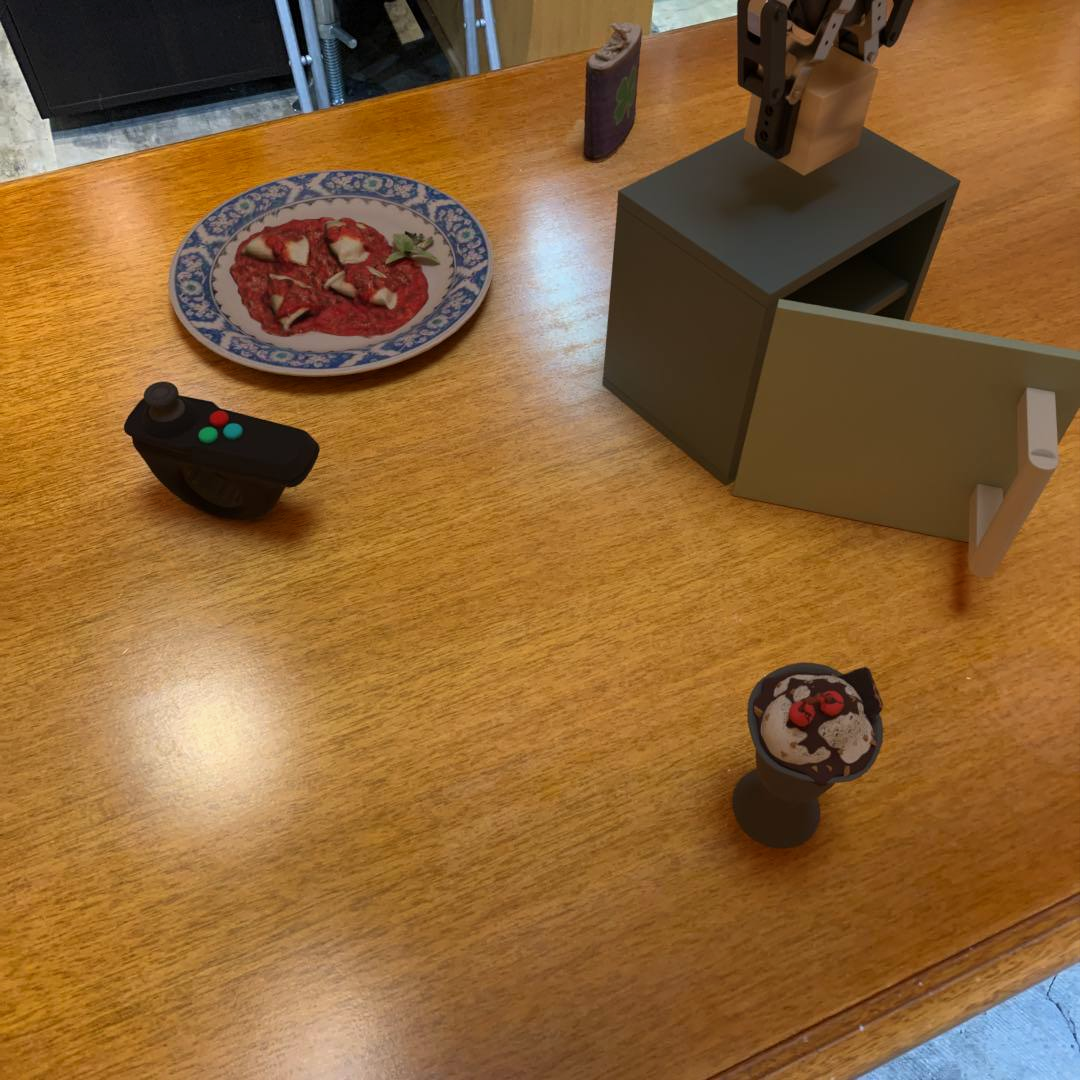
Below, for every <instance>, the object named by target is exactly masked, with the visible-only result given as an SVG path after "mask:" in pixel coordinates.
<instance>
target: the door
mask: <svg viewBox="0 0 1080 1080" xmlns="http://www.w3.org/2000/svg"><path fill="white" fill-rule="evenodd" d="M1079 411H1080V350H1077V349H1072V348H1066V347H1060V346H1053V345H1048V344H1044V343H1043V344H1042V343H1037V342H1031V341H1026V340H1021V339H1014V338H1008V337H1003V336H996V335H991V334H985V333H980V332H973V331H967V330H961V329H956V328H950V327H944V326H939V325H932V324H927V323H922V322H921V323H920V322H915V321H911V320H910V321H904V320H899V319H893V318H887V317H881V316H876V315H870V314H864V313H858V312H852V311H847V310H841V309H835V308H829V307H824V306H818V305H812V304H806V303H800V302H795V301H789V300H783V299H779V300H778V304H777V308H776V312H775V316H774V321H773V325H772V329H771V333H770V337H769V342H768V346H767V350H766V354H765V358H764V362H763V367H762V371H761V375H760V379H759V383H758V388H757V392H756V396H755V400H754V404H753V408H752V413H751V417H750V421H749V425H748V429H747V434H746V438H745V442H744V446H743V450H742V454H741V459H740V463H739V467H738V471H737V475H736V480H735V481H734V484H733V488H732V496H733V497H739V498H743V499H749V500H754V501H759V502H764V503H769V504H772V505H778V506H782V507H787V508H793V509H799V510H804V511H808V512H813V513H818V514H823V515H828V516H833V517H839V518H843V519H849V520H853V521H858V522H863V523H868V524H869V523H870V524H873V525H879V526H883V527H888V528H894V529H899V530H904V531H909V532H912V533H913V532H914V533H919V534H924V535H928V536H933V537H939V538H942V539H943V538H944V539H948V540H954V541H958V542H963V543H964V542H965V543H968V570H969V571H970V572H971V574H973V575H974V576H976V577H978V578H980V579H989V578H991V577H993V576H994V575H995V574H996V572H997V570H998V568H999V567H1000V565H1001V563H1002V562H1003V560H1004V559H1005V557H1006V555H1007V553H1008V551H1010V548H1011V546H1012V544H1013V543H1014V541H1015V540H1016V538H1017V537H1018V534H1019V533H1020V531H1021V529H1022V528H1023V526H1024V524H1025V522H1027V519H1028V517H1029V516H1030V514H1031V512H1032V511H1033V509H1034V507H1035V506H1036V504H1037V502H1038V501H1039V499H1040V497H1041V496H1042V494H1043V492H1044V490H1045V488H1046V487H1047V485H1048V484H1049V482H1050V480H1051V479H1052V477H1053V475H1054V473H1055V471H1056V470H1057V468H1058V467H1059V464H1060V462H1059V460H1060V459H1059V445H1060V443H1061V442H1062V440H1063V438H1064V437H1065V434H1066V432H1067V431H1068V429H1069V428H1070V426H1071V424H1072V422H1073V421H1074V418H1075V417H1076V416H1077V413H1078V412H1079Z"/></svg>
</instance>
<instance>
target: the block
mask: <svg viewBox="0 0 1080 1080" xmlns="http://www.w3.org/2000/svg"><path fill="white" fill-rule="evenodd" d="M814 37H815V36H814V35H812V36H811V37H808V38H806V39H805V40H806V41H808V42H810V43H811V42H812V41H813V39H814ZM795 64H796V57H795V56H794V55H792V54H790V53H788V54H787V57H786V66H785V75H787V76H789V77H790V76H791V74H792V71H793V69H794V67H795ZM759 69H762V66H761V65H760V64H759ZM878 74H879V69H878V68H877V67H875V66H873V65H869V64H867V63H865V62H863V61H861V60H860V59H858V58H856V57H854V56H852V55H850V54H848V53H846V52H844V51H842V50H840V49H838V48H837V47H835V46H833V44H832V46H831V49H830V51H829V53H828V56H827V58H826V60H825V61H824V62H823V63H821V64H817V65H815V67H814V68H813V71H812V73H811V75H810V78H809V80H808V82H807V85H806V87H805V89H804V92H803V94H802V96H801V98H800V100H801V105H800V110H799V114H798V119H797V123H796V128H795V132H794V137H793V142H792V146H791V151H790V153H789V154H788V155H787V156H785V157H783V158H781V159H777V160H778V161H780V162H782V163H783V164H785V165H787V166H788V167H790V168H792V169H793V170H795V171H797V172H798V173H800V174H802V175H806V174H808V173H810V172H812V171H814V170H816V169H817V168H819V167H821V166H823V165H825V164H827V163H829V162H830V161H832V160H834V159H836V158H838V157H840V156H842V155H843V154H845V153H847V152H849V151H851V150H853V149H854V148H856V147H858V144H859V140H860V137H861V133H862V129H863V126H864V125H865V121H866V118H867V115H868V111H869V107H870V103H871V100H872V96H873V92H874V89H875V85H876V82H877V78H878ZM750 95H751V96H750V100H749V107H748V111H747V117H746V123H745V127H746V128H745V127H744V128H745V133H744V140H745V141H747V142H749V143H750V144H752V145H754V146H755V147H757V145H756V143H755V138H754V135H755V130H756V128H757V127H756V125H757V122H758V114H759V109H760V104H761V98H759V97H758V96H756V95H754V94H752V93H751V94H750ZM864 127H865V126H864ZM757 148H758V147H757Z"/></svg>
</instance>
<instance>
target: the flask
mask: <svg viewBox="0 0 1080 1080" xmlns="http://www.w3.org/2000/svg"><path fill="white" fill-rule="evenodd" d="M608 26H609V27H611V28H613V30H614V31H613V32H612V34H611V35H610V37H609V39H608V41H607V43H605V45H604V46H603V47H602V48H600V50H596V51H595V53H594V54H591V55H590V56H589V58H587V61H586V66H585V85H584V86H585V88H584V89H585V92H584V93H585V94H584V98H585V99H584V102H585V103H584V104H585V105H584V120H583V121H584V128H583V150H582V156H583V158H584V160H586V161H589V162H592V163H600V162H602V161H606V160H607V159H609V158H610V157H611V156H613V155H614V153H616V152H617V151H618V149H620V148H621V147H622V145H623V143H625V141H626V139H627V138H628V136H629V133H630V132H631V130H632V129H633V126H634V124H635V120H636V111H637V110H636V105H637V97H638V81H639V69H640V63H641V62H640V60H641V59H640V57H641V56H640V55H641V48H642V36H643V29H642V27H641V25H638V24H637V23H632V22H621V23H620V24H618V22H616V21H615V22H613V23H609V25H608Z"/></svg>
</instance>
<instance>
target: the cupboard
mask: <svg viewBox="0 0 1080 1080" xmlns="http://www.w3.org/2000/svg"><path fill="white" fill-rule="evenodd" d="M745 128H746V126H745V127H743V128H741V129H738V130H737V131H734V132H733V133H731V134H728V135H727V136H725V137H722V138H721V139H718V140H716V141H715V142H713V143H711V144H708V145H707V146H704V147H703V148H700V149H699V150H697V151H694V152H692V153H691V154H689V155H687V156H685V157H683V158H680V159H678V160H677V161H675V162H673V163H671V164H668V165H667V166H665V167H663V168H661V169H659V170H656V171H655V172H652V173H651V174H649V175H646V176H644V177H642V178H640V179H639V180H637V181H634V182H632V183H630V184H629V185H627V186H624V187H622V188H620V189H618V191H617V200H616V201H617V202H616V203H617V205H616V206H617V207H616V214H615V215H616V217H615V226H614V227H615V228H614V239H613V252H612V263H611V264H612V265H611V276H610V278H611V279H610V287H609V288H610V289H609V301H608V313H607V323H606V335H605V336H606V337H605V348H604V362H603V373H602V376H603V377H602V381H601V382H602V383H601V385H602V387H604V389H606V390H607V391H608V392H610V393H611V394H612V395H613V396H614V397H616V399H618V400H619V401H621V402H622V403H623V404H624V405H626V406H627V407H628V408H629V409H630V410H632V411H633V413H635V414H637V416H639V417H640V418H641V419H643V420H644V421H646V423H647V424H648V425H650V426H651V427H653V428H654V429H655V430H656V431H657V432H658V433H660V434H661V435H662V436H663V437H664V438H666V439H667V440H668V441H669V442H670V443H672V444H673V445H674V446H676V447H677V448H678V449H679V450H681V451H682V452H683V453H684V454H685V455H686V456H688V457H689V458H690V459H691V460H692V461H694V462H695V463H696V464H698V465H699V466H700V467H701V468H703V470H705V471H706V472H708V473H709V474H710V475H711V476H712V477H714V479H716V480H717V481H719V483H721V484H722V485H723V486H725V487H727V486H729V485H730V484H732V483H734V482H735V480H736V475H737V471H738V467H739V463H740V459H741V454H742V450H743V446H744V442H745V438H746V434H747V429H748V425H749V421H750V417H751V413H752V408H753V404H754V400H755V396H756V392H757V388H758V383H759V379H760V375H761V371H762V367H763V362H764V358H765V354H766V350H767V346H768V342H769V337H770V333H771V329H772V325H773V321H774V316H775V312H776V308H777V304H778V300H779V299H783V300H789V301H795V302H800V303H806V304H812V305H818V306H824V307H829V308H835V309H841V310H847V311H852V312H858V313H864V314H870V315H876V316H881V317H887V318H893V319H899V320H904V321H910V322H911V319H912V317H913V314H914V310H915V307H916V305H917V302H918V300H919V297H920V294H921V291H922V288H923V287H924V283H925V280H926V278H927V275H928V272H929V270H930V266H931V264H932V261H933V258H934V255H935V253H936V251H937V247H938V245H939V242H940V239H941V237H942V234H943V231H944V228H945V226H946V224H947V220H948V218H949V215H950V212H951V209H952V207H953V204H954V201H955V199H956V196H957V193H958V191H959V188H960V184H961V182H962V180H961V179H958V178H957V177H955V176H953V175H952V174H949V173H948V172H946V171H944V170H943V169H941V168H939V167H937V166H936V165H933V164H932V163H930V162H928V161H926V160H924V159H923V158H921V157H919V156H918V155H915V154H914V153H912V152H910V151H908V150H907V149H905V148H903V147H901V146H899V145H898V144H896V143H894V142H892V141H890V140H889V139H887V138H886V137H884V136H881V135H880V134H878V133H876V132H875V131H873V130H871V129H869V128H867V127H866V126H863V129H862V133H861V137H860V140H859V144H858V147H856V148H854V149H853V150H851V151H849V152H847V153H845V154H843V155H842V156H840V157H838V158H836V159H834V160H832V161H830V162H829V163H827V164H825V165H823V166H821V167H819V168H817V169H816V170H814V171H812V172H810V173H808V174H806V175H802V174H800V173H798V172H797V171H795V170H793V169H792V168H790V167H788V166H787V165H785V164H783V163H782V162H780V161H778V160H777V159H775V158H773V157H772V156H770V155H768V154H767V153H765V152H763V151H762V150H760V149H759V148H757V147H755V146H754V145H752V144H750V143H749V142H747V141H745V140H744V133H745Z"/></svg>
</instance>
